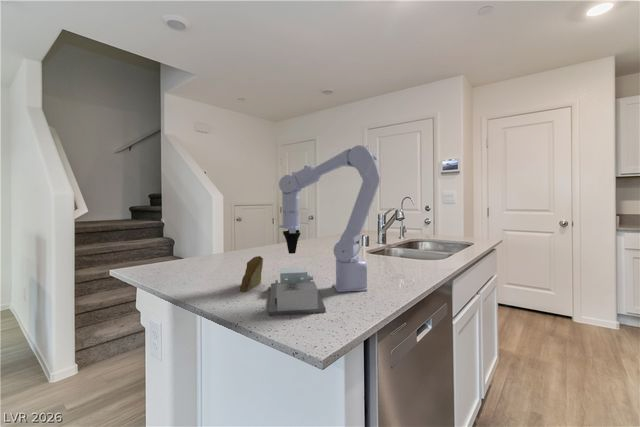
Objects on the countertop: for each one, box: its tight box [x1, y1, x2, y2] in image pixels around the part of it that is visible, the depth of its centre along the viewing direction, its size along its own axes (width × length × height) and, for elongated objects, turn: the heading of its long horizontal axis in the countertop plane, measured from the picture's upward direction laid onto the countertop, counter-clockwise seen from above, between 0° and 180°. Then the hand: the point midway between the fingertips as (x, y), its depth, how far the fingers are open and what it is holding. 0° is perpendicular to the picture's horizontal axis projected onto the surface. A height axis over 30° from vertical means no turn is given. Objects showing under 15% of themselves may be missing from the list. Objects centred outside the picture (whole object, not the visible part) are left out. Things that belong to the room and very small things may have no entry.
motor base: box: [268, 279, 327, 317], centre depth 88 cm, size 14×25×6 cm, turn 8°
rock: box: [239, 255, 264, 292], centre depth 99 cm, size 11×9×10 cm
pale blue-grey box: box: [279, 266, 314, 284], centre depth 93 cm, size 10×9×5 cm
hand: (291, 252), depth 103 cm, fingers open, 3 cm apart
